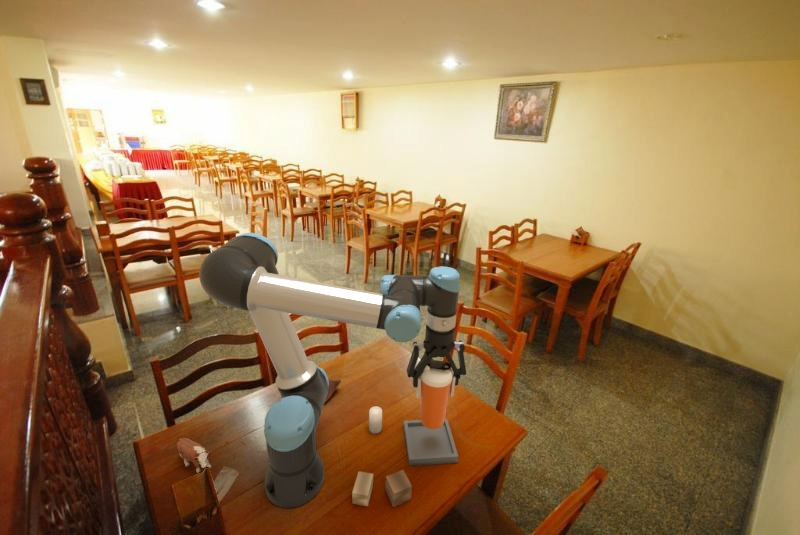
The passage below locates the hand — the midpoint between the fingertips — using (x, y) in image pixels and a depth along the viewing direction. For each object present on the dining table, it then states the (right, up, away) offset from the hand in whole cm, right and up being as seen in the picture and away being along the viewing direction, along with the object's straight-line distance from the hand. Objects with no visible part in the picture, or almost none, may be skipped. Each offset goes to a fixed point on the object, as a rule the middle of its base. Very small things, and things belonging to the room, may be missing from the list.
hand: (434, 394), depth 99 cm
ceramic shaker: (-18, -15, +12) cm, 26 cm away
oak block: (-19, -23, -8) cm, 31 cm away
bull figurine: (-65, -19, -3) cm, 68 cm away
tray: (-1, -18, +7) cm, 19 cm away
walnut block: (-10, -23, -8) cm, 27 cm away
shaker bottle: (0, -9, +4) cm, 10 cm away
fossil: (-37, -10, +24) cm, 45 cm away
